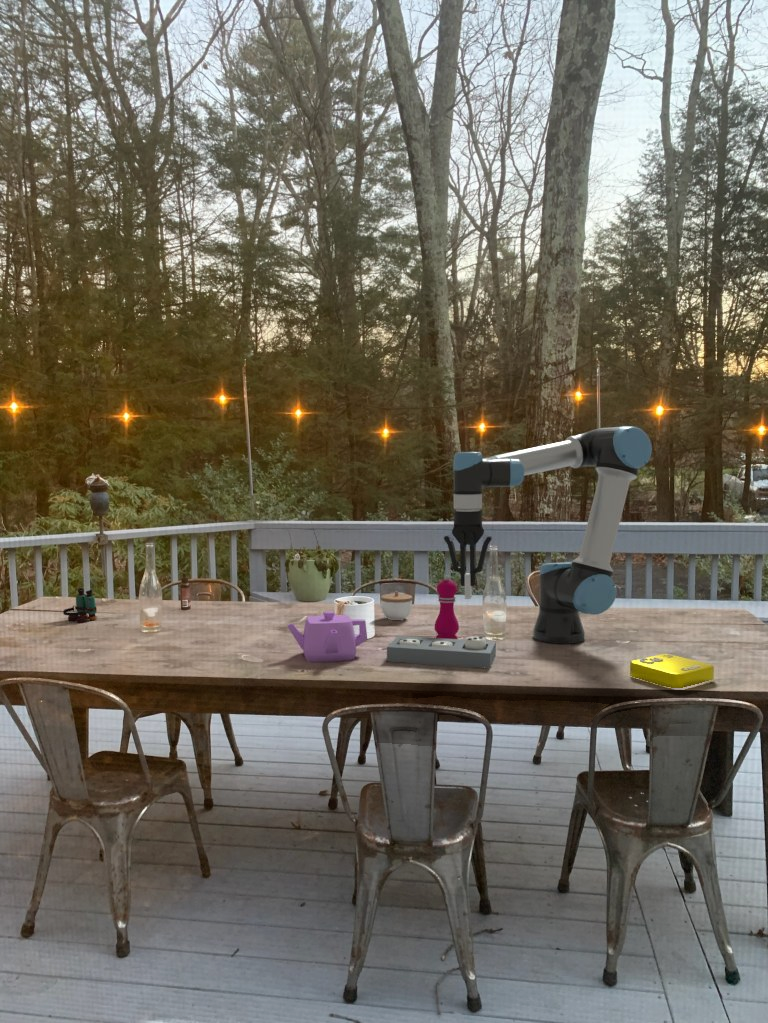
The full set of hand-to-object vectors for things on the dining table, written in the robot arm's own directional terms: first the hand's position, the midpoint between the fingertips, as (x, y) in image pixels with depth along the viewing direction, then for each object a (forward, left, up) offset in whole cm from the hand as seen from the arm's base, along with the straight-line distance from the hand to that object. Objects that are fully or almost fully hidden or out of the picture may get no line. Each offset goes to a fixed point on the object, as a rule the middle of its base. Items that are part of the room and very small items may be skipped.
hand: (468, 597), depth 204 cm
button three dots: (-2, 0, -15) cm, 15 cm away
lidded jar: (+31, -47, -17) cm, 59 cm away
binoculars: (+133, -18, -17) cm, 135 cm away
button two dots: (+16, 0, -16) cm, 23 cm away
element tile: (-51, +5, -18) cm, 54 cm away
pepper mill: (+9, -19, -17) cm, 27 cm away
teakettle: (+38, +5, -17) cm, 42 cm away
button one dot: (+7, 0, -16) cm, 18 cm away
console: (+7, 0, -17) cm, 18 cm away
